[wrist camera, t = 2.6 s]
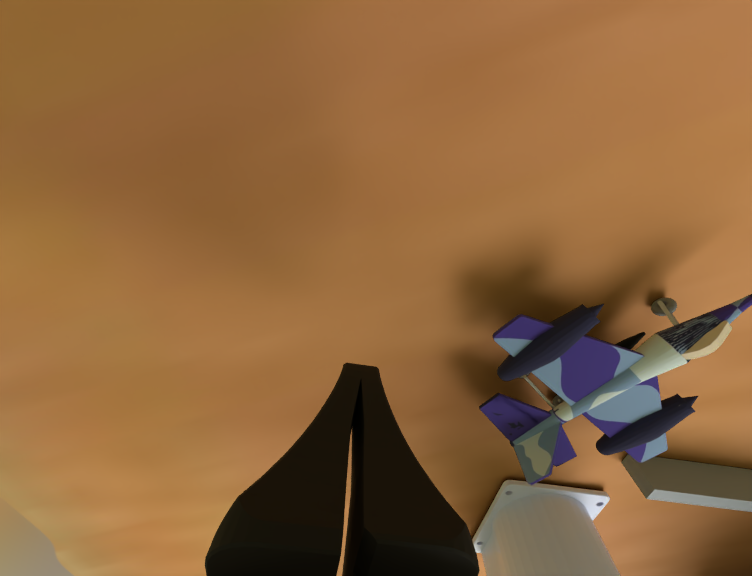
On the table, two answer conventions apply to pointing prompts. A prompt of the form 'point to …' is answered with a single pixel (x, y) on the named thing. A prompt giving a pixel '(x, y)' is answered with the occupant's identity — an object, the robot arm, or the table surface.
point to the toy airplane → (598, 382)
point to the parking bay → (692, 482)
